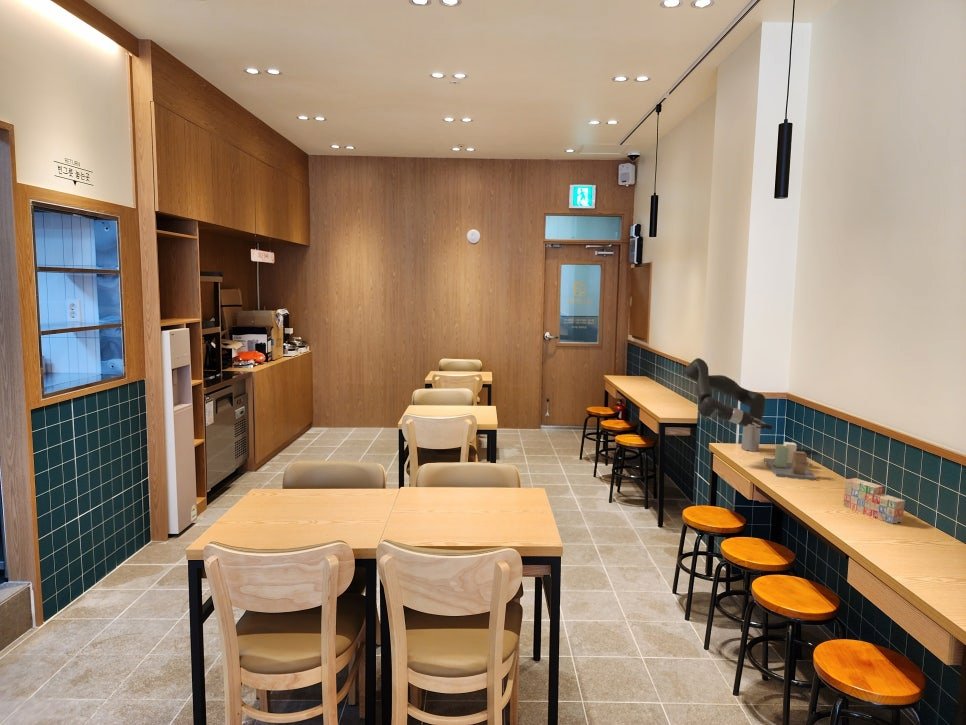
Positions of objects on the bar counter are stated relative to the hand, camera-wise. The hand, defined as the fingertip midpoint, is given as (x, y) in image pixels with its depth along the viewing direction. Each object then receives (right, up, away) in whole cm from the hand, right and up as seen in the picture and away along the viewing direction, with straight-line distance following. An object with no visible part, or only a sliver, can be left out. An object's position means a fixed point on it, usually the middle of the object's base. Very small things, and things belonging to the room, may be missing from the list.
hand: (771, 427), depth 327 cm
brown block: (+8, -21, -11) cm, 25 cm away
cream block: (+13, -19, +9) cm, 24 cm away
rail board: (+8, -22, 0) cm, 23 cm away
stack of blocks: (+13, -30, -63) cm, 71 cm away
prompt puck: (+22, -20, +14) cm, 33 cm away
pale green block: (+5, -20, 0) cm, 20 cm away
